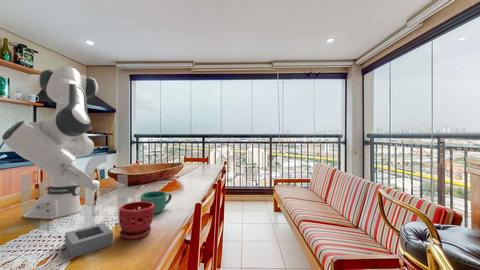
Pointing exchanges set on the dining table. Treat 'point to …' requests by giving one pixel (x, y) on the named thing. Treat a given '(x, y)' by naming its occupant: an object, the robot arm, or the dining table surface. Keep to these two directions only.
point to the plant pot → (135, 219)
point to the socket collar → (88, 239)
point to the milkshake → (92, 194)
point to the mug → (156, 199)
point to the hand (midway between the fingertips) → (93, 187)
